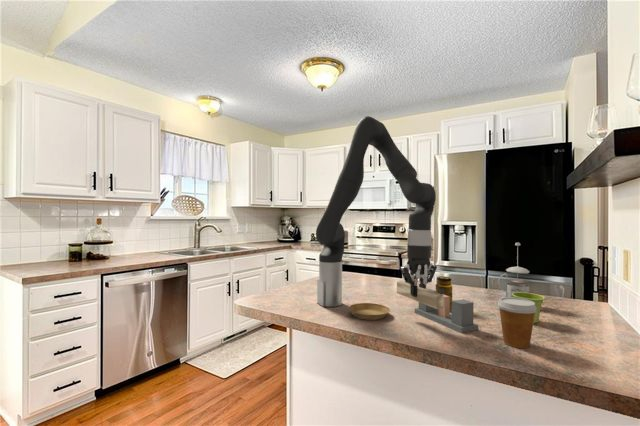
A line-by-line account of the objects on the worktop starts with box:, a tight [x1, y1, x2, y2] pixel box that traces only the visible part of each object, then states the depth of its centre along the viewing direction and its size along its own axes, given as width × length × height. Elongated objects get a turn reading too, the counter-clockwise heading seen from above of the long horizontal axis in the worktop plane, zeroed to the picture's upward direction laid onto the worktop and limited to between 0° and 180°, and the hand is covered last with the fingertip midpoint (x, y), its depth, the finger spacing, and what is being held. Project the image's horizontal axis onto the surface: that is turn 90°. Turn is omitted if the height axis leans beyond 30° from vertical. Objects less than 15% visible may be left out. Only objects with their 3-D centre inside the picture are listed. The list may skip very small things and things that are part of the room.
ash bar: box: [396, 280, 443, 309], centre depth 107 cm, size 2×20×4 cm, turn 22°
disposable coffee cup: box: [497, 296, 537, 349], centre depth 92 cm, size 10×10×12 cm
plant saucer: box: [348, 302, 391, 321], centre depth 117 cm, size 15×15×3 cm
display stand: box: [414, 288, 479, 334], centre depth 111 cm, size 7×22×8 cm, turn 23°
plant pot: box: [512, 291, 546, 324], centre depth 111 cm, size 9×9×9 cm
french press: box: [497, 242, 530, 298], centre depth 130 cm, size 10×12×25 cm
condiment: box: [435, 275, 453, 312], centre depth 125 cm, size 7×8×12 cm
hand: (418, 295), depth 107 cm, fingers closed on ash bar, 2 cm apart
